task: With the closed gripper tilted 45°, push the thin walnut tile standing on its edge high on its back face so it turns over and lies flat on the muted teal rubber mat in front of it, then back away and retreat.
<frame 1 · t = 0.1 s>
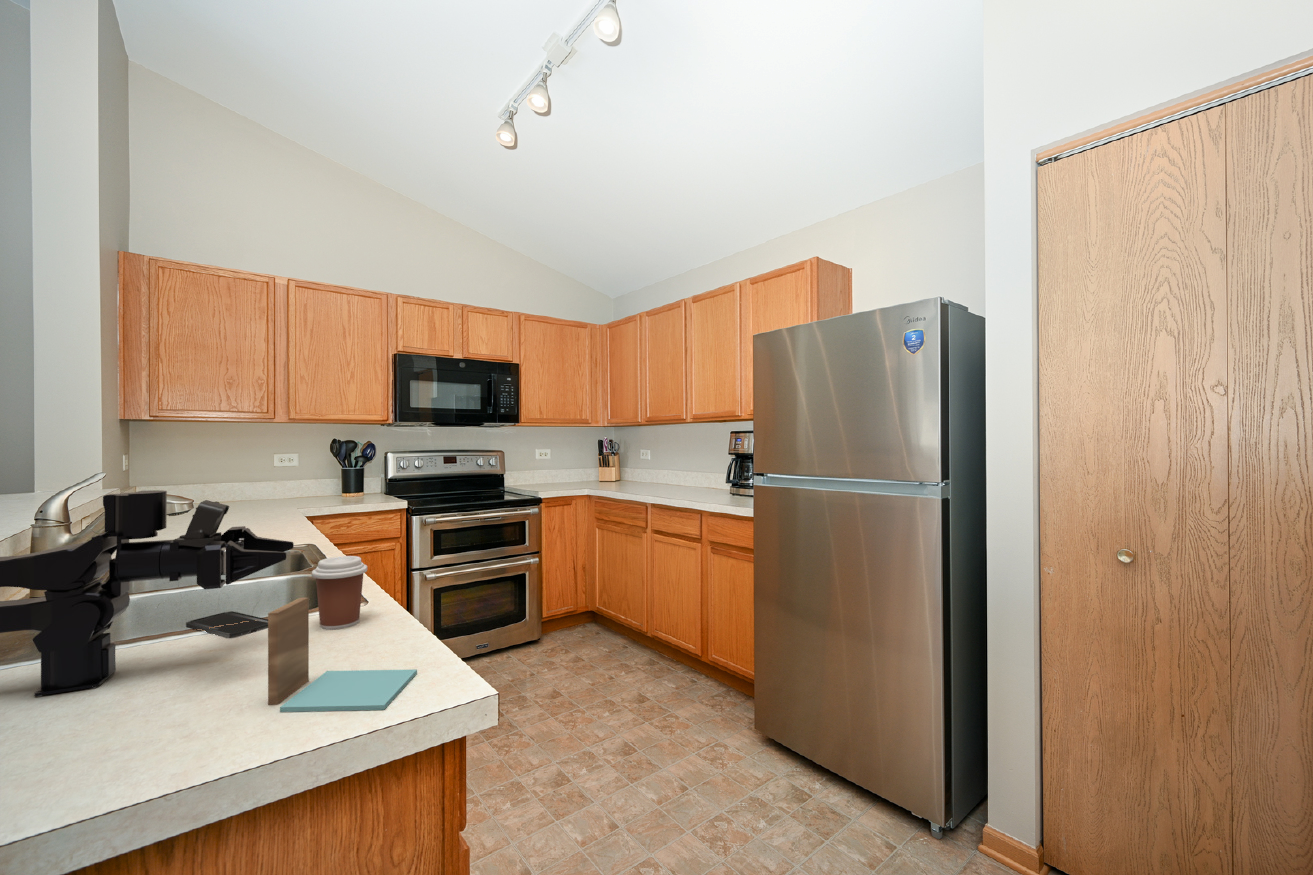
hand: (290, 550, 91), 17 cm above the counter, tool horizontal, fingers open, 9 cm apart
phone: (230, 629, 103), on the counter
coffee cup: (340, 624, 104), on the counter
walnut tile: (289, 692, 76), on the counter
mat: (353, 691, 77), on the counter
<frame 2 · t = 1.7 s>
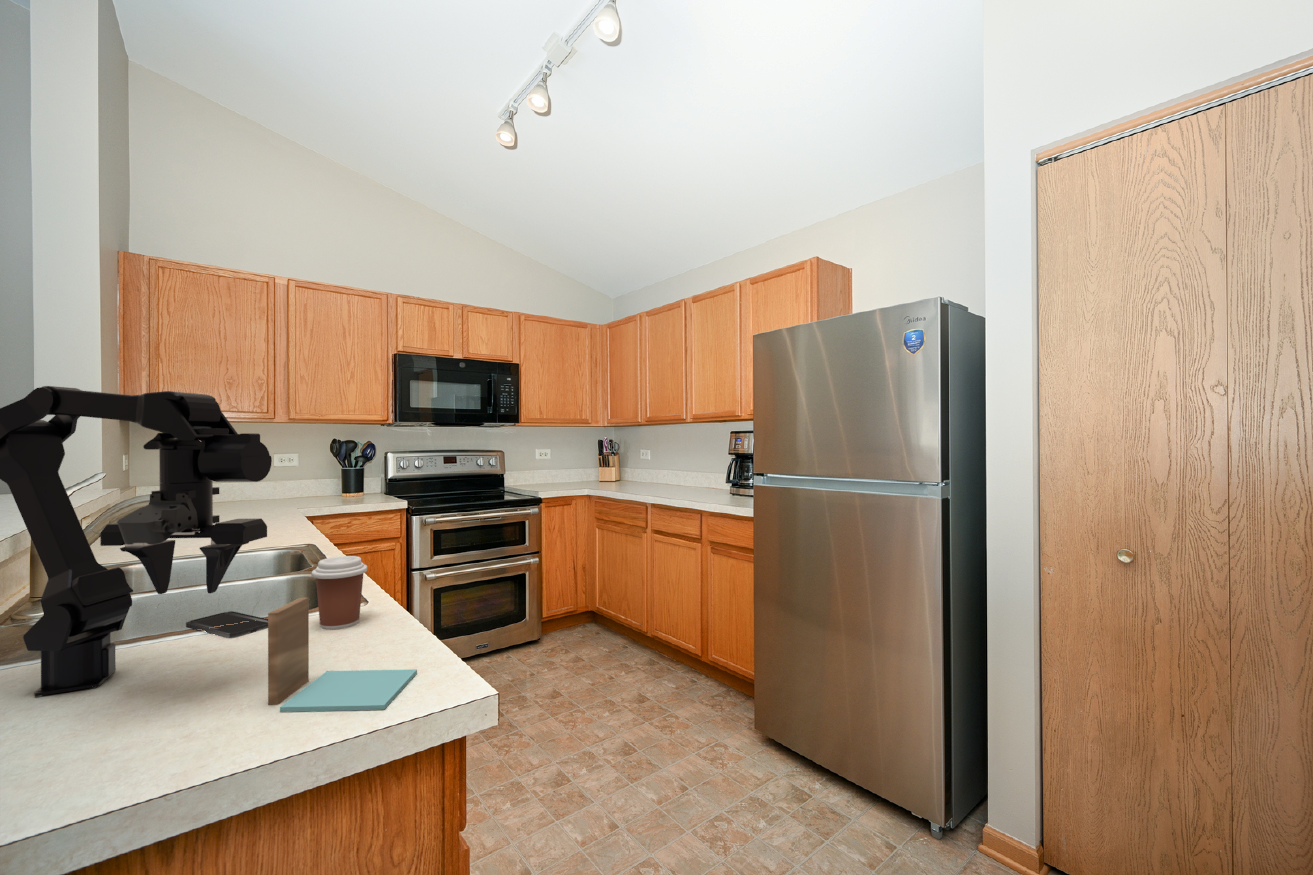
hand: (187, 593, 78), 13 cm above the counter, tool pointing down, fingers open, 6 cm apart
nothing on the counter moved.
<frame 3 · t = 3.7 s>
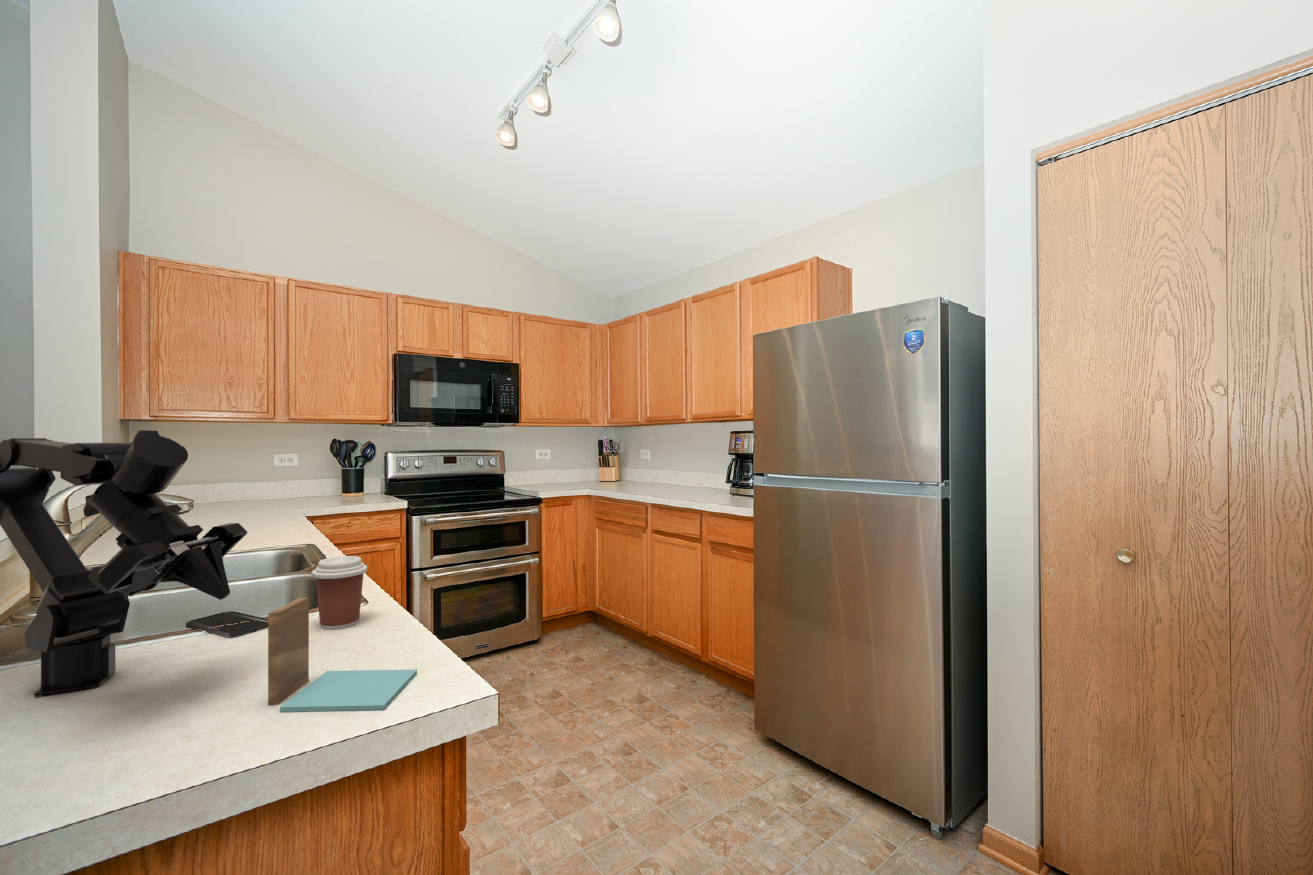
hand: (225, 596, 76), 13 cm above the counter, tool tilted 45°, fingers closed
nothing on the counter moved.
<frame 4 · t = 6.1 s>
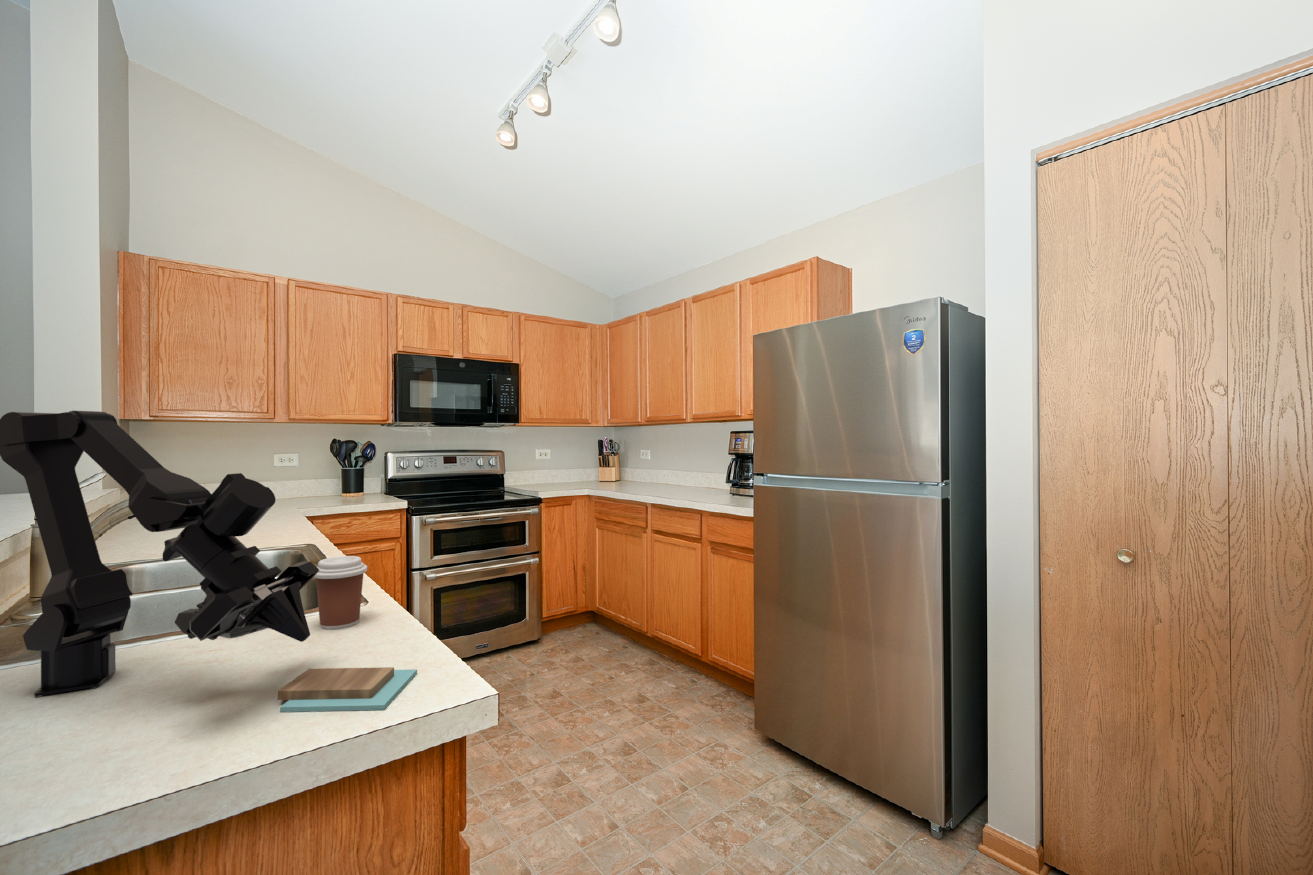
hand: (306, 638, 76), 7 cm above the counter, tool tilted 45°, fingers closed
walnut tile: (293, 683, 76), point 1 cm above the counter, tilted 90°, touching mat
everything else where it was.
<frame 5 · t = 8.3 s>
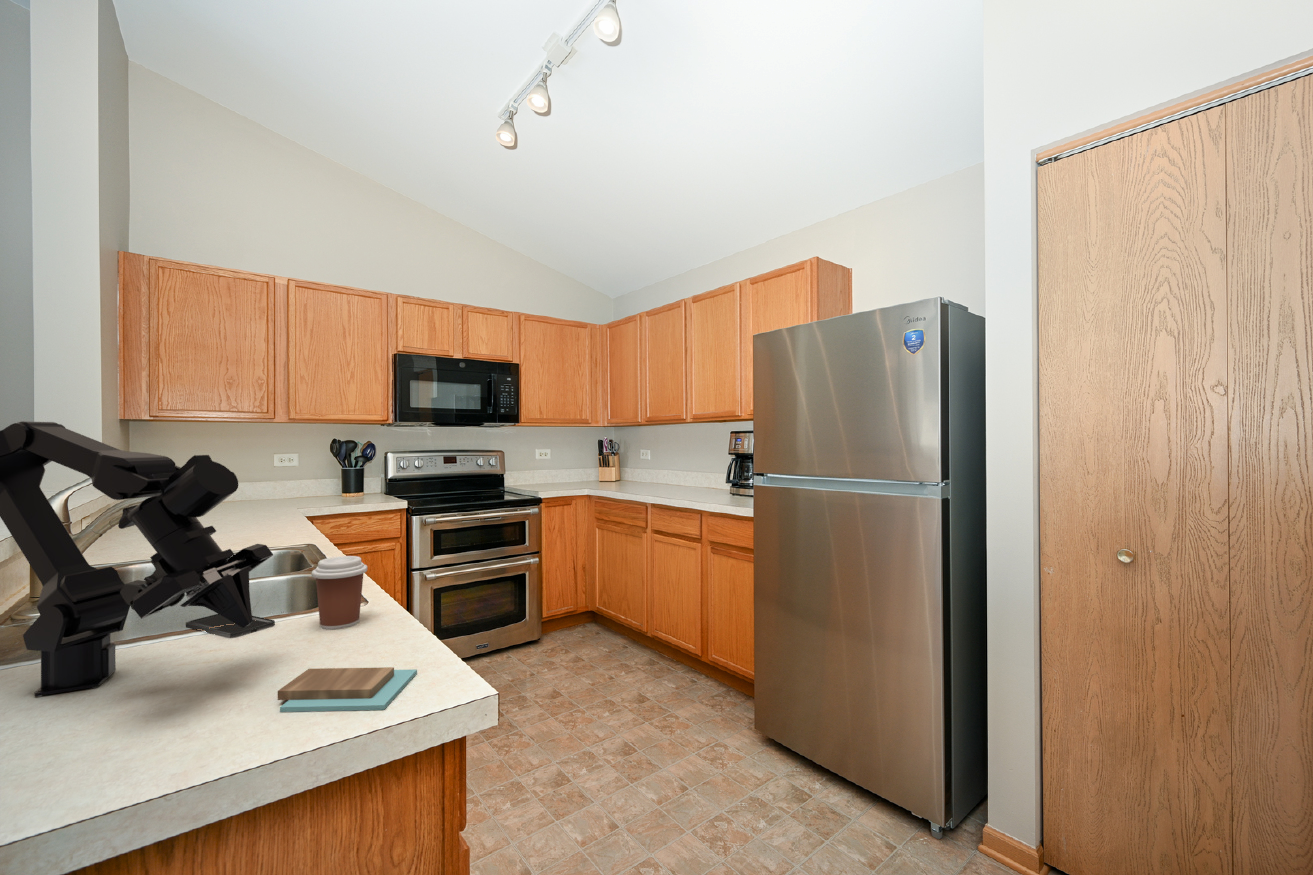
hand: (247, 625, 78), 9 cm above the counter, tool tilted 35°, fingers closed
nothing on the counter moved.
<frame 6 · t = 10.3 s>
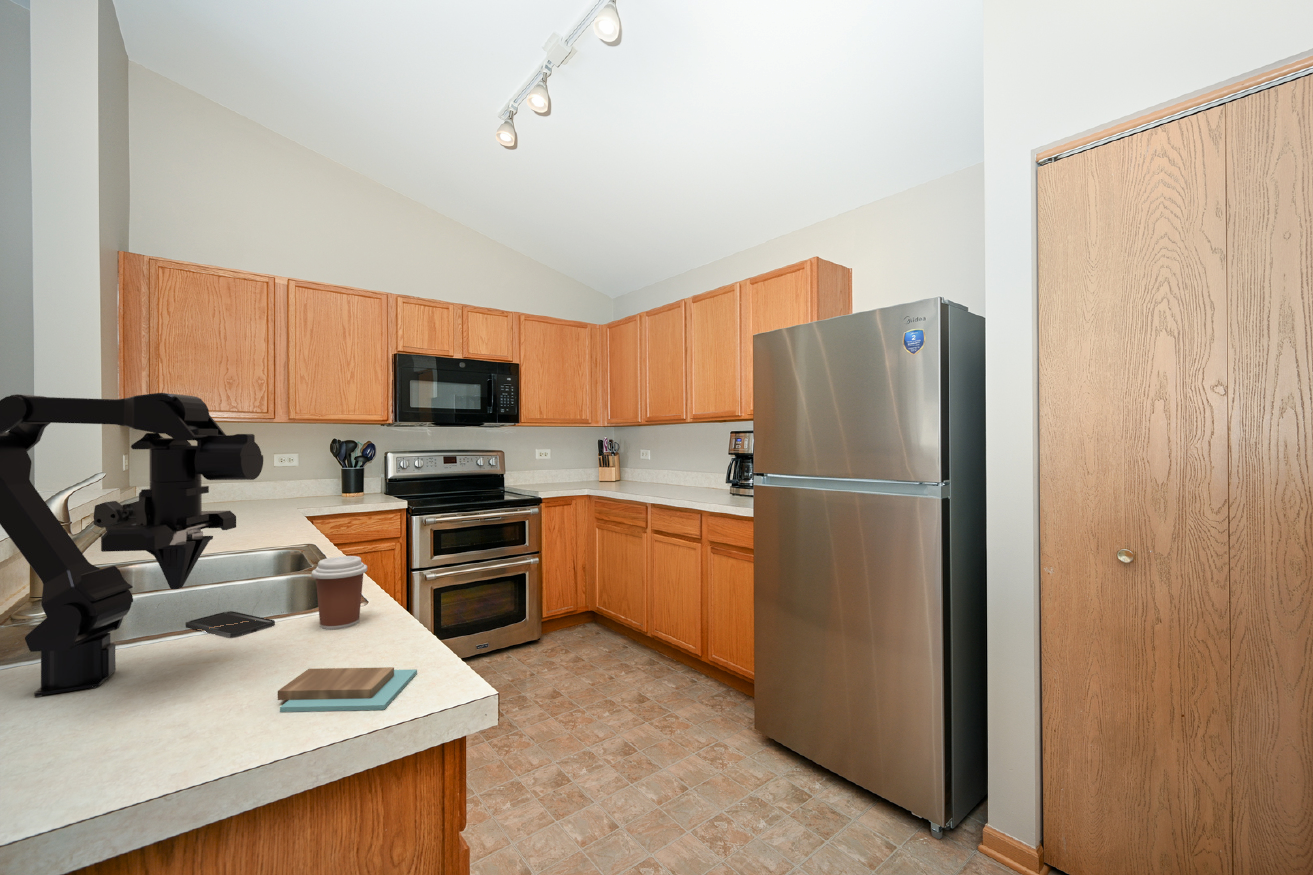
hand: (176, 588, 81), 13 cm above the counter, tool pointing down, fingers closed
nothing on the counter moved.
at the end: walnut tile tilted 90°; walnut tile touching mat; walnut tile inside the target area (2.0 cm from its centre), point 1.2 cm above the counter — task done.
